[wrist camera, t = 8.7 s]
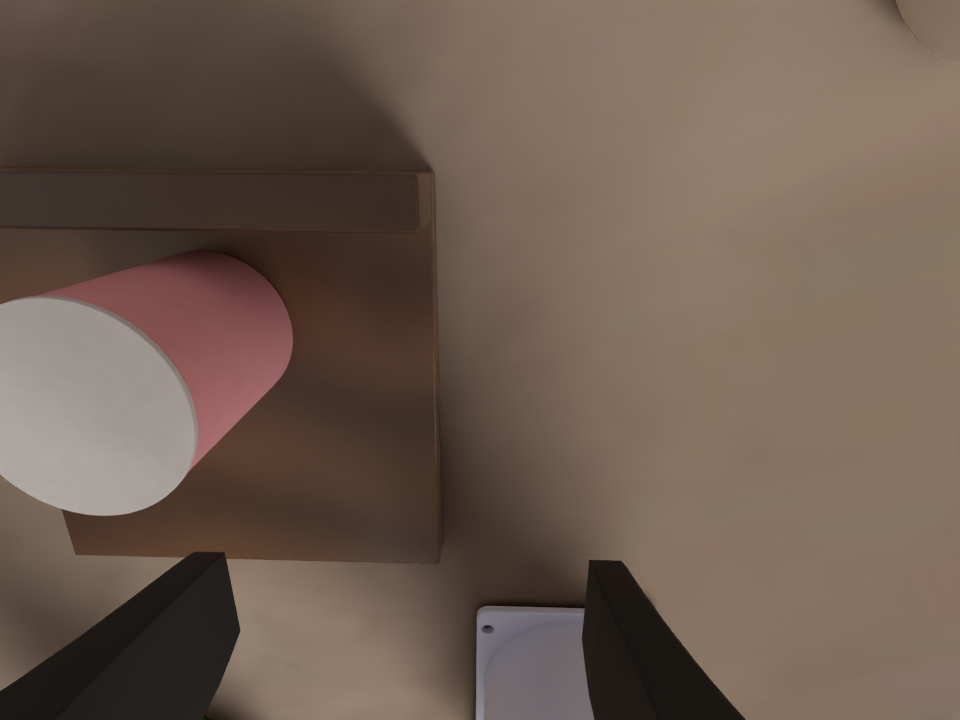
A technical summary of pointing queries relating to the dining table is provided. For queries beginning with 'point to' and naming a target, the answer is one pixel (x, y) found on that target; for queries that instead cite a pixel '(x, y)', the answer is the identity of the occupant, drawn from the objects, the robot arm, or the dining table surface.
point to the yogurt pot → (134, 378)
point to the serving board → (314, 359)
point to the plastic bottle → (934, 24)
